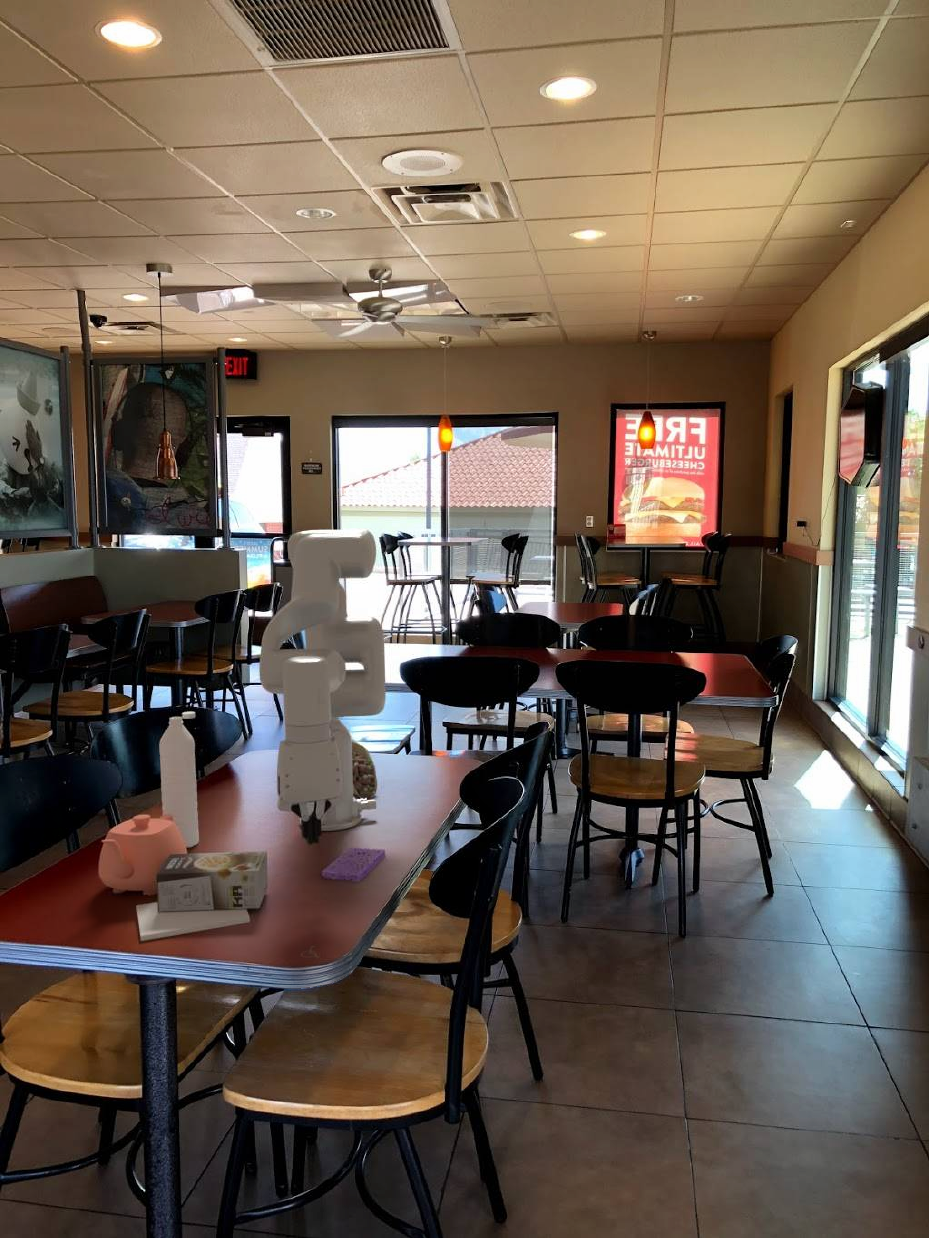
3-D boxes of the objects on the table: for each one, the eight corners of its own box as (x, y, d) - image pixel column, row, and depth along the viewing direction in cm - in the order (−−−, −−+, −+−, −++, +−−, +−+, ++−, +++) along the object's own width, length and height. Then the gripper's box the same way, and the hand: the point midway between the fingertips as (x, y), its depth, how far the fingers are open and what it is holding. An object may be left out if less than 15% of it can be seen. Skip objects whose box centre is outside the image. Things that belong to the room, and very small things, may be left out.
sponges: (385, 859, 171) (385, 849, 170) (359, 884, 159) (359, 874, 158) (350, 855, 172) (350, 846, 172) (321, 881, 160) (321, 870, 160)
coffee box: (259, 870, 145) (154, 874, 144) (260, 909, 146) (156, 913, 145) (267, 849, 154) (169, 853, 153) (268, 886, 155) (171, 890, 154)
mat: (237, 893, 154) (237, 889, 154) (249, 922, 143) (249, 917, 143) (136, 910, 148) (136, 905, 148) (140, 941, 137) (140, 935, 137)
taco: (332, 771, 231) (331, 731, 230) (388, 796, 209) (387, 752, 208) (297, 777, 225) (295, 737, 224) (351, 804, 203) (350, 759, 202)
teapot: (71, 907, 150) (66, 834, 148) (140, 862, 169) (137, 798, 168) (144, 914, 147) (140, 840, 145) (206, 868, 166) (204, 802, 165)
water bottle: (186, 851, 174) (180, 721, 172) (156, 848, 176) (150, 719, 174) (212, 836, 183) (206, 712, 180) (183, 833, 185) (178, 710, 182)
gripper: (346, 723, 156) (349, 827, 158) (257, 732, 151) (262, 840, 153) (359, 732, 149) (361, 841, 151) (266, 742, 144) (270, 855, 146)
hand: (311, 840), depth 152 cm, fingers closed
